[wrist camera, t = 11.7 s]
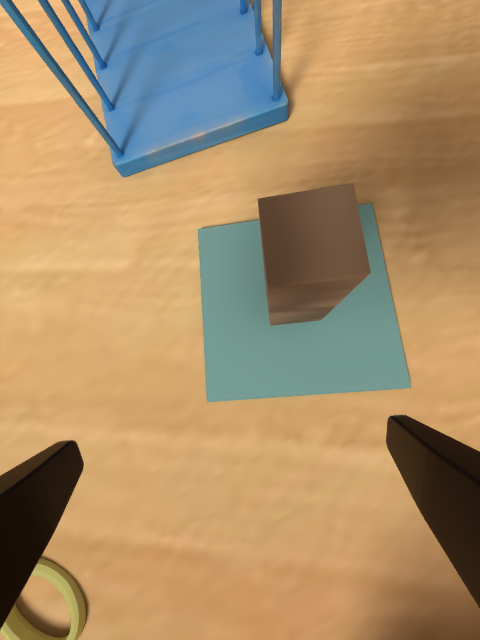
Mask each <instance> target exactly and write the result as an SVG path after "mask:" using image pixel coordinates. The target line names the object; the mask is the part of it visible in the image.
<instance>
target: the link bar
mask: <svg viewBox="0 0 480 640" xmlns="http://www.w3.org/2000/svg"><path fill="white" fill-rule="evenodd" d="M258 206H259V217H260V229H261V240H262V252H263V263H264V275H265V285H266V293H267V302H268V311H269V320H270V326H273V325H282V324H292V323H301V322H310V321H320V320H322V319H323V318H324V317H325V316H326V315H327V314H328V313H329V312H330V311H331V310H333V309H334V308H335V307H336V306H337V305H338V304H339V303H340V302H341V301H342V300H343V299H344V298H345V297H346V296H347V295H348V294H349V293H350V292H351V291H352V290H353V289H354V288H355V287H357V286H358V285H359V284H360V283H361V282H362V281H363V280H364V279H365V278H366V277H367V276H368V275H369V274H370V273H371V270H370V265H369V260H368V255H367V250H366V245H365V240H364V236H363V231H362V226H361V221H360V216H359V211H358V206H357V201H356V196H355V192H354V187H353V183H351V184H345V185H339V186H333V187H327V188H320V189H314V190H308V191H302V192H296V193H290V194H284V195H278V196H272V197H266V198H260V199H258Z"/></svg>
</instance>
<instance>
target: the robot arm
mask: <svg viewBox="0 0 480 640" xmlns="http://www.w3.org/2000/svg"><path fill="white" fill-rule="evenodd" d="M386 443H387V447H388V450H389V452H390V454H391V456H392V458H393V460H394V462H395V464H396V466H397V467H398V469H399V471H400V473H401V475H402V477H403V479H404V481H405V483H406V485H407V487H408V489H409V491H410V493H411V495H412V497H413V499H414V501H415V503H416V505H417V507H418V509H419V510H420V512H421V514H422V516H423V517H424V519H425V521H426V522H427V524H428V525H429V527H430V529H431V530H432V532H433V534H434V535H435V537H436V538H437V540H438V542H439V543H440V545H441V547H442V548H443V550H444V551H445V553H446V555H447V556H448V558H449V560H450V561H451V563H452V564H453V566H454V568H455V569H456V571H457V573H458V574H459V576H460V577H461V579H462V581H463V582H464V584H465V585H466V587H467V589H468V590H469V592H470V594H471V595H472V597H473V598H474V600H475V602H476V603H477V605H478V607H479V608H480V452H479V451H477V450H475V449H473V448H471V447H469V446H467V445H465V444H463V443H461V442H459V441H457V440H455V439H453V438H451V437H449V436H447V435H445V434H443V433H441V432H439V431H437V430H435V429H433V428H431V427H429V426H427V425H425V424H423V423H421V422H419V421H417V420H415V419H413V418H411V417H409V416H406V415H394V416H390V417H389V418H388V421H387V435H386ZM83 466H84V463H83V459H82V456H81V453H80V450H79V448H78V445H77V443H76V442H75V441H73V440H68V441H60V442H57V443H55V444H54V445H52V446H50V447H49V448H47V449H45V450H43V451H42V452H40V453H38V454H37V455H35V456H33V457H31V458H30V459H28V460H26V461H25V462H23V463H21V464H20V465H18V466H16V467H14V468H13V469H11V470H9V471H8V472H6V473H4V474H2V475H1V476H0V630H1V628H2V626H3V625H4V623H5V621H6V619H7V617H8V616H9V614H10V612H11V610H12V608H13V606H14V605H15V603H16V601H17V599H18V597H19V596H20V594H21V592H22V590H23V588H24V587H25V585H26V583H27V581H28V579H29V577H30V576H31V574H32V572H33V570H34V568H35V567H36V565H37V563H38V561H39V559H40V558H41V556H42V554H43V552H44V550H45V548H46V547H47V545H48V543H49V541H50V539H51V537H52V535H53V533H54V532H55V529H56V527H57V525H58V523H59V521H60V519H61V517H62V515H63V512H64V510H65V508H66V506H67V504H68V502H69V499H70V497H71V495H72V493H73V491H74V488H75V486H76V484H77V482H78V480H79V478H80V475H81V473H82V471H83Z"/></svg>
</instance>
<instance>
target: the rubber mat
mask: <svg viewBox="0 0 480 640" xmlns="http://www.w3.org/2000/svg"><path fill="white" fill-rule="evenodd" d="M357 206H358V211H359V216H360V221H361V226H362V231H363V236H364V240H365V245H366V250H367V255H368V260H369V265H370V270H371V273H370V274H369V275H368V276H367V277H366V278H365V279H364V280H363V281H362V282H361V283H360V284H359V285H358V286H357V287H355V288H354V289H353V290H352V291H351V292H350V293H349V294H348V295H347V296H346V297H345V298H344V299H343V300H342V301H341V302H340V303H339V304H338V305H337V306H336V307H335V308H334V309H333V310H331V311H330V312H329V313H328V314H327V315H326V316H325V317H324V318H323V319H322V320H320V321H310V322H301V323H292V324H282V325H273V326H270V320H269V311H268V302H267V293H266V285H265V275H264V263H263V252H262V240H261V229H260V220H255V221H248V222H241V223H235V224H228V225H221V226H215V227H208V228H202V229H198V239H199V258H200V277H201V296H202V316H203V335H204V354H205V373H206V392H207V402H216V401H230V400H245V399H259V398H274V397H288V396H303V395H317V394H332V393H346V392H361V391H375V390H390V389H404V388H411V385H410V380H409V375H408V371H407V366H406V361H405V356H404V352H403V347H402V342H401V338H400V333H399V328H398V324H397V319H396V314H395V309H394V305H393V300H392V295H391V291H390V286H389V281H388V276H387V272H386V267H385V262H384V258H383V253H382V248H381V243H380V239H379V234H378V229H377V225H376V220H375V215H374V211H373V206H372V203H368V204H361V205H357Z"/></svg>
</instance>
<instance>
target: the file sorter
mask: <svg viewBox="0 0 480 640" xmlns="http://www.w3.org/2000/svg"><path fill="white" fill-rule="evenodd" d="M38 1H39V3H40V4H41V6H42V8H43V9H44V11H45V12H46V14H47V15H48V17H49V18H50V20H51V22H52V23H53V25H54V26H55V28H56V29H57V31H58V32H59V34H60V35H61V37H62V38H63V40H64V42H65V43H66V45H67V46H68V48H69V49H70V51H71V52H72V54H73V55H74V57H75V58H76V60H77V62H78V63H79V65H80V66H81V68H82V69H83V71H84V72H85V74H86V75H87V77H88V78H89V80H90V82H91V83H92V85H93V86H94V88H95V89H96V91H97V92H98V94H99V95H100V97H101V101H102V107H103V112H104V118H105V123H106V129H107V131H106V129H105V128H104V127H103V125H102V124H101V123H100V121H99V120H98V118H97V117H96V115H95V114H94V113H93V111H92V110H91V109H90V107H89V106H88V105H87V103H86V102H85V101H84V99H83V98H82V96H81V95H80V94H79V92H78V91H77V90H76V88H75V87H74V86H73V84H72V83H71V81H70V80H69V79H68V77H67V76H66V75H65V73H64V72H63V71H62V69H61V68H60V66H59V65H58V64H57V62H56V61H55V60H54V58H53V57H52V56H51V54H50V53H49V52H48V50H47V49H46V47H45V46H44V45H43V43H42V42H41V40H40V39H39V38H38V36H37V35H36V34H35V32H34V31H33V29H32V28H31V27H30V25H29V24H28V22H27V21H26V20H25V18H24V17H23V16H22V14H21V13H20V11H19V10H18V9H17V7H16V6H15V4H14V3H13V2H12V0H0V4H1V5H2V7H3V8H4V9H5V11H6V12H7V13H8V15H9V16H10V17H11V19H12V20H13V21H14V23H15V24H16V25H17V27H18V28H19V29H20V31H21V32H22V33H23V34H24V36H25V37H26V38H27V40H28V41H29V42H30V44H31V45H32V46H33V47H34V49H35V50H36V51H37V53H38V54H39V55H40V57H41V58H42V59H43V61H44V62H45V63H46V64H47V66H48V67H49V68H50V70H51V71H52V72H53V73H54V75H55V76H56V77H57V79H58V80H59V81H60V82H61V84H62V85H63V86H64V88H65V89H66V90H67V91H68V93H69V94H70V95H71V97H72V98H73V99H74V101H75V102H76V103H77V105H78V106H79V107H80V108H81V110H82V111H83V112H84V113H85V115H86V116H87V117H88V119H89V120H90V121H91V123H92V124H93V125H94V127H95V128H96V129H97V130H98V132H99V133H100V134H101V136H102V137H103V138H104V140H105V141H106V142H107V143H108V145H109V146H110V151H111V156H112V162H113V165H114V167H115V168H116V169H117V170H118V172H119V173H120V174H121V176H122V177H127V176H130V175H132V174H135V173H138V172H141V171H143V170H146V169H149V168H152V167H154V166H157V165H160V164H163V163H166V162H169V161H172V160H174V159H177V158H180V157H183V156H185V155H188V154H191V153H194V152H197V151H200V150H203V149H205V148H208V147H211V146H214V145H217V144H220V143H223V142H225V141H228V140H231V139H234V138H237V137H240V136H243V135H246V134H248V133H251V132H254V131H257V130H260V129H263V128H265V127H268V126H271V125H274V124H277V123H280V122H283V121H285V120H287V119H288V107H289V101H288V98H287V96H286V93H285V91H284V88H283V85H282V83H281V80H280V64H281V6H282V0H273V60H272V57H271V55H270V52H269V49H268V47H267V44H266V42H265V39H264V36H263V34H262V31H261V0H253V1H254V10H253V8H252V5H251V3H250V0H78V1H79V3H80V5H81V6H82V8H83V10H84V12H85V14H86V17H87V23H88V29H89V34H90V37H89V35H88V33H87V31H86V30H85V28H84V26H83V24H82V22H81V21H80V19H79V17H78V15H77V14H76V12H75V10H74V8H73V7H72V5H71V3H70V1H69V0H61V1H62V2H63V4H64V6H65V8H66V9H67V11H68V13H69V14H70V16H71V18H72V19H73V21H74V23H75V25H76V26H77V28H78V30H79V31H80V33H81V35H82V36H83V38H84V40H85V41H86V43H87V45H88V47H89V48H90V50H91V52H92V53H93V57H94V63H95V68H96V74H97V79H98V81H97V79H96V77H95V76H94V74H93V72H92V71H91V69H90V68H89V66H88V65H87V63H86V61H85V60H84V58H83V56H82V55H81V53H80V52H79V50H78V48H77V47H76V45H75V44H74V42H73V41H72V39H71V37H70V36H69V34H68V32H67V31H66V29H65V27H64V26H63V24H62V23H61V21H60V20H59V18H58V17H57V15H56V13H55V12H54V10H53V8H52V7H51V5H50V4H49V2H48V0H38Z"/></svg>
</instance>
